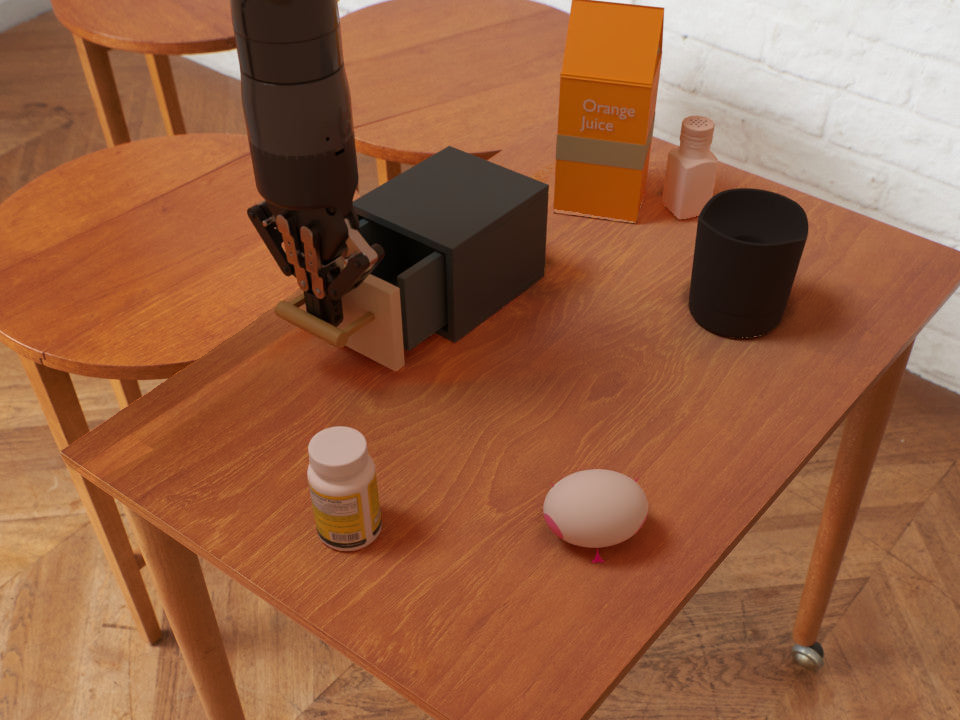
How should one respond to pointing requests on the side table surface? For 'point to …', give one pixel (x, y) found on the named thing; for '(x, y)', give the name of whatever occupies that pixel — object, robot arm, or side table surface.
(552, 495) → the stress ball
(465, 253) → the cabinet
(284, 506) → the side table surface
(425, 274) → the drawer
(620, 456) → the side table surface
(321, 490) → the supplement bottle
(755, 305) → the pen holder
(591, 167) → the orange juice
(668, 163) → the pepper shaker
